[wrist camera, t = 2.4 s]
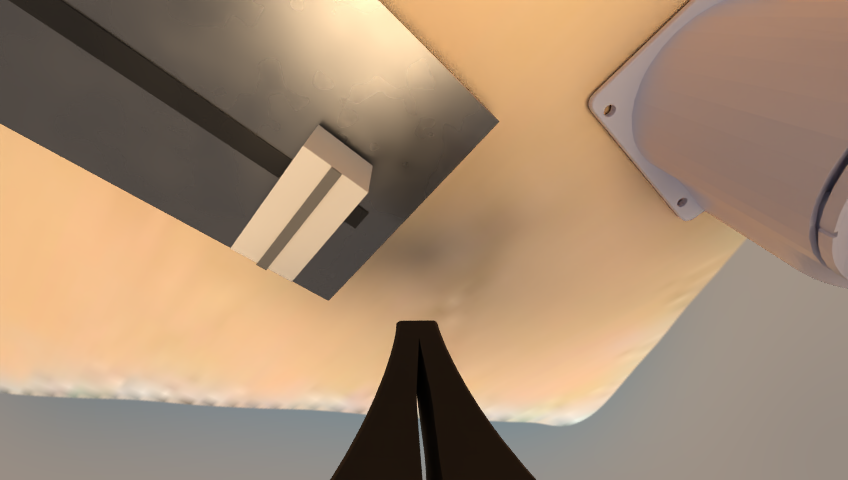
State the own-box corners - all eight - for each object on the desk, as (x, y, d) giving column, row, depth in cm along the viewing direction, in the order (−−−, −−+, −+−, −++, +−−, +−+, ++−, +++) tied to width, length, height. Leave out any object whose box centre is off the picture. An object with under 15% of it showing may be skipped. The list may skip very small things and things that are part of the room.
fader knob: (372, 165, 14) (368, 194, 12) (306, 246, 16) (291, 283, 14) (318, 124, 13) (302, 146, 11) (253, 215, 15) (228, 250, 13)
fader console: (488, 110, 15) (500, 122, 14) (334, 276, 20) (328, 302, 18) (-26, -408, 8) (-142, -522, 6) (-86, 34, 13) (-164, 37, 11)
